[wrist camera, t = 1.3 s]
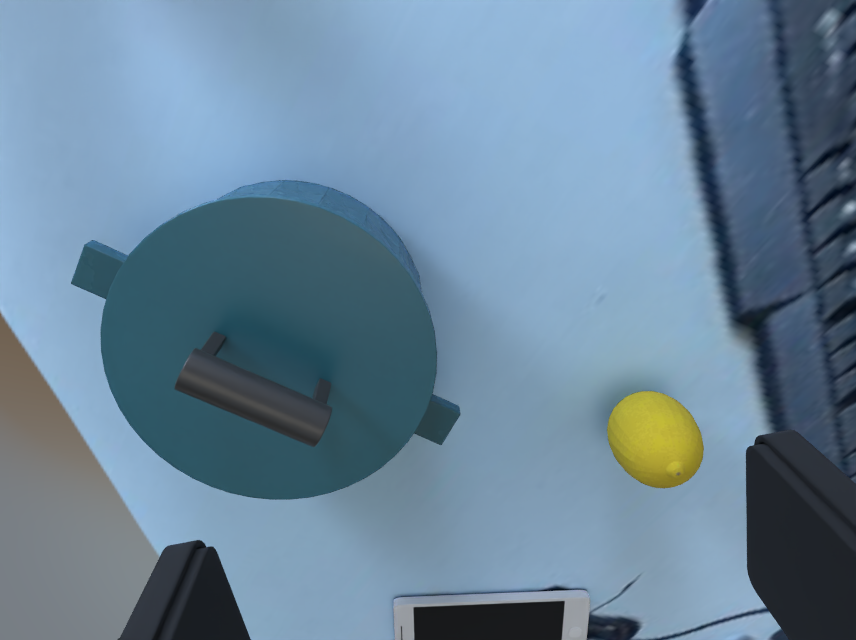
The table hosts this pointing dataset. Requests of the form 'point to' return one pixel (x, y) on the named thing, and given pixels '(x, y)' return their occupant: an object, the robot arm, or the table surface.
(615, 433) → the lemon
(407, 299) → the lid
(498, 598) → the smartphone
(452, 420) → the pot
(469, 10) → the table surface
